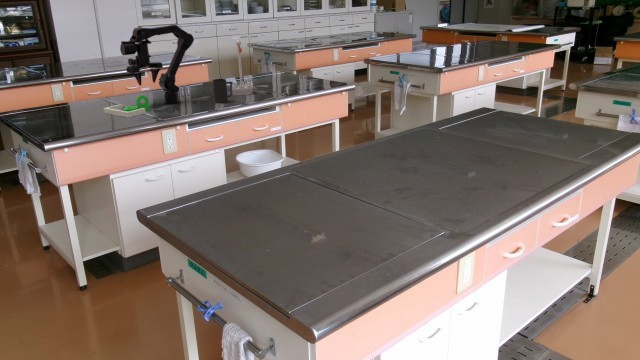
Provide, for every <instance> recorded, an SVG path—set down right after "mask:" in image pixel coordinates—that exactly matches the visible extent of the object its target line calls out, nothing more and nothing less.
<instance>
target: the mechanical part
mask: <svg viewBox="0 0 640 360" xmlns="http://www.w3.org/2000/svg"><path fill="white" fill-rule="evenodd" d="M141 100H144V103H141ZM141 108H145V112H146V111H150V110H151V109H150V103H149V99H148V97H147V96H146V95H138V96H137V98H136V105H133V106H132V105H131V106H126V107H123V111H127V112H129V111H133V110H137V109H141Z"/></svg>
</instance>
